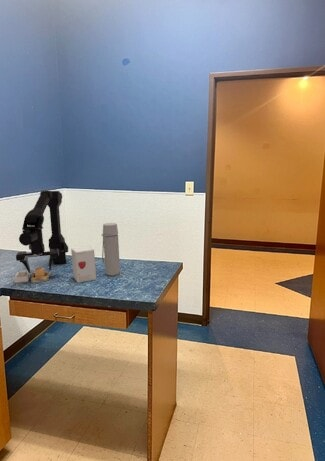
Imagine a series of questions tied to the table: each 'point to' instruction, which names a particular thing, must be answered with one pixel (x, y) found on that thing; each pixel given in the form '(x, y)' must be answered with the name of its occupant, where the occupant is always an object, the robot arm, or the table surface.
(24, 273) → the block
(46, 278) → the holder
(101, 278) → the table surface
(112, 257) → the water bottle
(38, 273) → the orange block
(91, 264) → the supplement box
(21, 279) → the clip
